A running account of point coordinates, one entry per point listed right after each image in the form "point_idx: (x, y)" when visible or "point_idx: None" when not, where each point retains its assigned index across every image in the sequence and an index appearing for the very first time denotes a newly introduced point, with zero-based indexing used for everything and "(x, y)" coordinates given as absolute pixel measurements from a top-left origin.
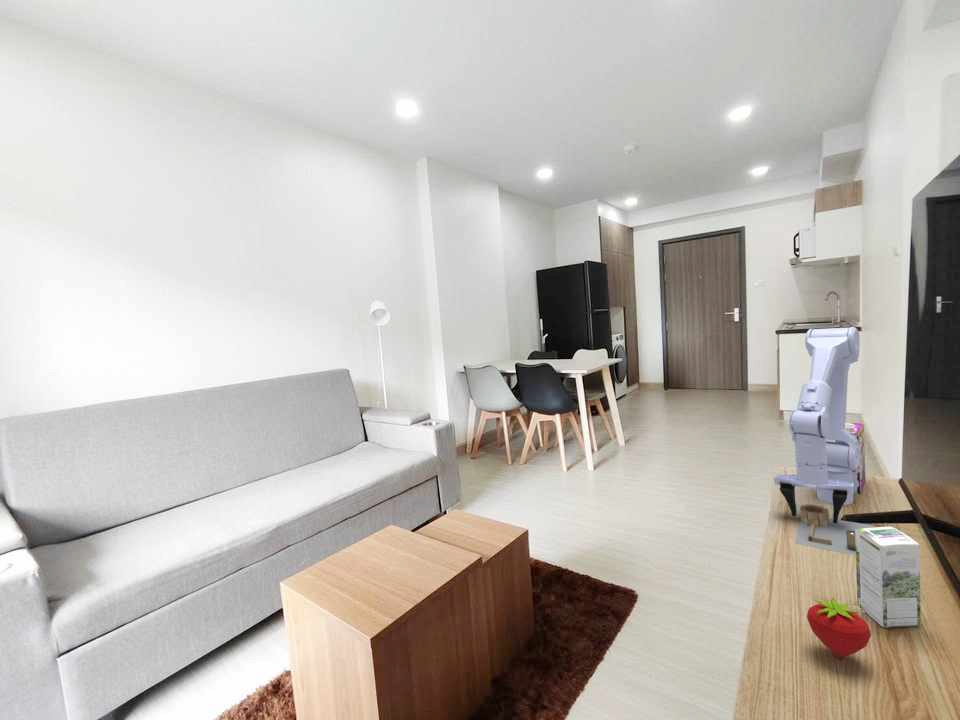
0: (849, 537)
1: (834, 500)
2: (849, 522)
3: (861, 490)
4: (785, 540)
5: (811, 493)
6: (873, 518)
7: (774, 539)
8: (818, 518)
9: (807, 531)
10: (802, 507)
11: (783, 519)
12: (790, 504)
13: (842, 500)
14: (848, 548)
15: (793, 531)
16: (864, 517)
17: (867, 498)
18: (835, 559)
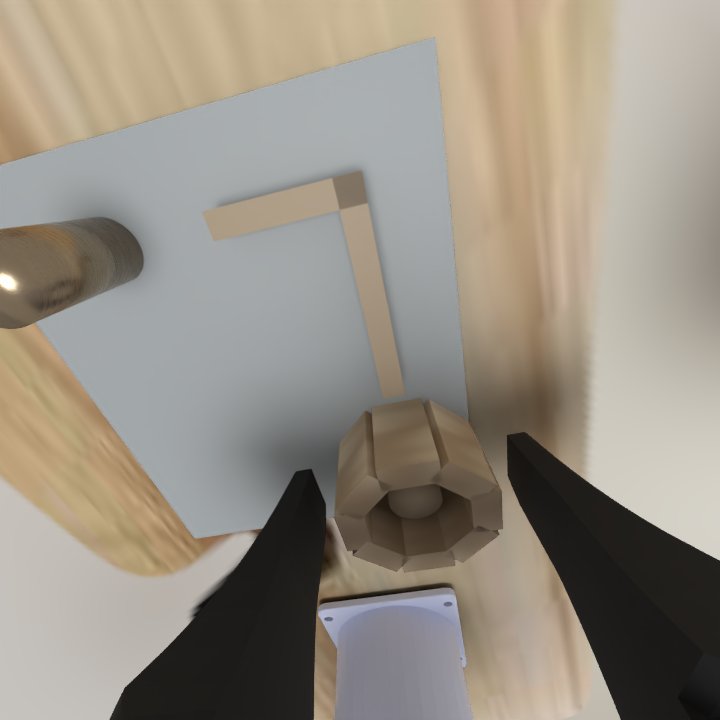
0: (13, 230)
1: (222, 662)
2: None
3: None
4: (512, 122)
5: (478, 639)
6: None
7: (593, 75)
8: (374, 452)
9: (407, 321)
10: (489, 513)
11: (555, 414)
12: (586, 494)
13: (143, 689)
14: (115, 225)
15: (484, 306)
16: None
17: (322, 667)
18: (129, 35)
